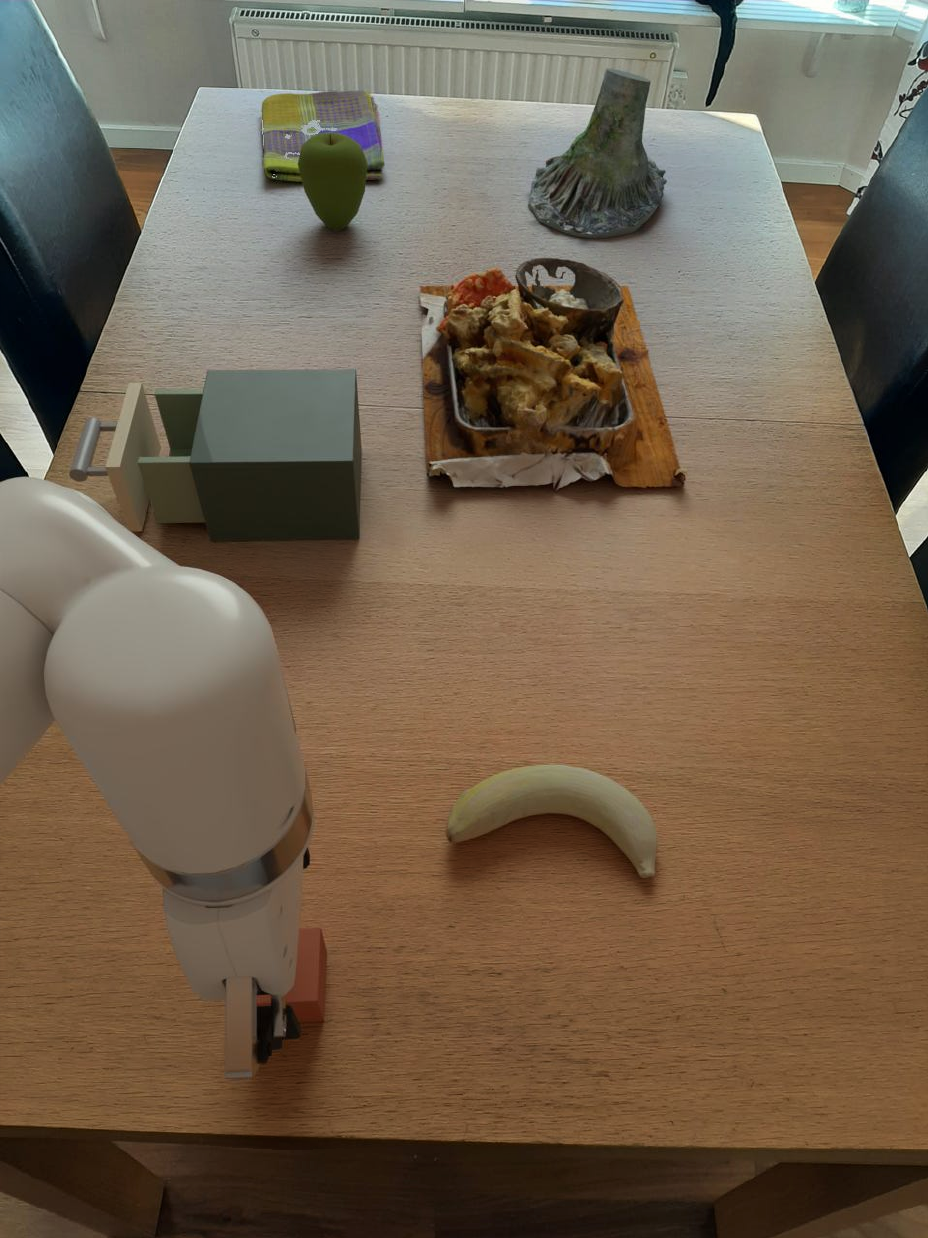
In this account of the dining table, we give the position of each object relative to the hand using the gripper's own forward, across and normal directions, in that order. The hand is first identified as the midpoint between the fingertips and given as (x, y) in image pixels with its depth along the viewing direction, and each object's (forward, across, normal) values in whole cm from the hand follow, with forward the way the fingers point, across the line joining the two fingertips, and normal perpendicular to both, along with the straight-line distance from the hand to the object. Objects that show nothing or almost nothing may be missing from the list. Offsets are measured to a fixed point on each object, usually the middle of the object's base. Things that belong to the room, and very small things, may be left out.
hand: (278, 944), depth 52 cm
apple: (+8, -96, 0) cm, 97 cm away
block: (+9, 0, 0) cm, 9 cm away
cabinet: (+8, -46, -3) cm, 47 cm away
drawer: (+7, -46, -13) cm, 49 cm away
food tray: (+9, -63, +23) cm, 68 cm away
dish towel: (+8, -119, -3) cm, 120 cm away
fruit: (+9, -10, +18) cm, 22 cm away
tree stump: (+9, -103, +35) cm, 109 cm away
